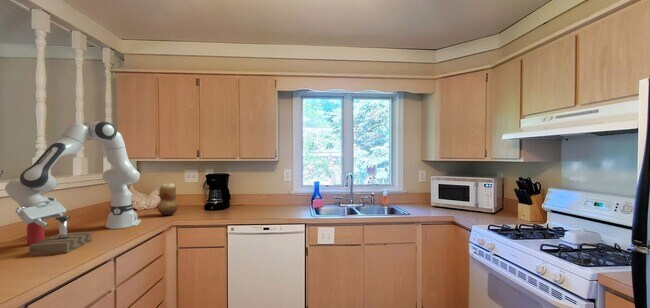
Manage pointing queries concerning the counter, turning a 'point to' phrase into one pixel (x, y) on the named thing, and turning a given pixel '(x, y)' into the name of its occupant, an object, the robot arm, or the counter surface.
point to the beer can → (35, 233)
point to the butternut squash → (168, 199)
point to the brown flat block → (60, 244)
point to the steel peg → (62, 226)
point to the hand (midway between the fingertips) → (54, 223)
